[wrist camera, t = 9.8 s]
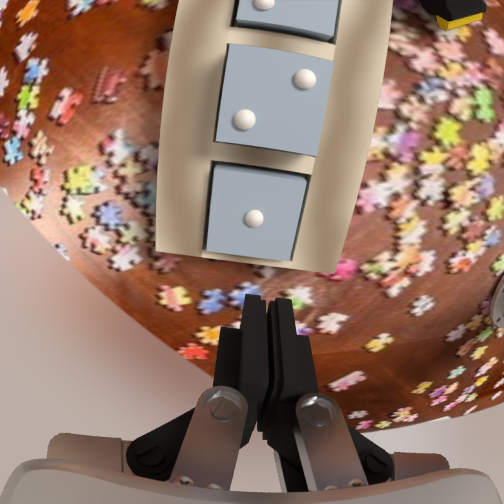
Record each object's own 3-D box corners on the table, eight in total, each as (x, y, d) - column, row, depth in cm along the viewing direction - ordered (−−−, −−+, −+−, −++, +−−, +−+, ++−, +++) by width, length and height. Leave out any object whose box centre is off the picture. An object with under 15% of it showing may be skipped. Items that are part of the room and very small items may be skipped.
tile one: (301, 173, 21) (307, 183, 19) (285, 245, 24) (289, 262, 22) (218, 161, 21) (214, 169, 19) (210, 236, 24) (206, 252, 22)
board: (377, -11, 15) (394, -23, 12) (325, 252, 27) (334, 273, 24) (201, -42, 14) (194, -60, 11) (166, 231, 26) (155, 250, 23)
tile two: (324, 65, 17) (334, 61, 14) (309, 149, 19) (317, 157, 17) (232, 50, 16) (229, 43, 14) (220, 136, 19) (215, 141, 17)
